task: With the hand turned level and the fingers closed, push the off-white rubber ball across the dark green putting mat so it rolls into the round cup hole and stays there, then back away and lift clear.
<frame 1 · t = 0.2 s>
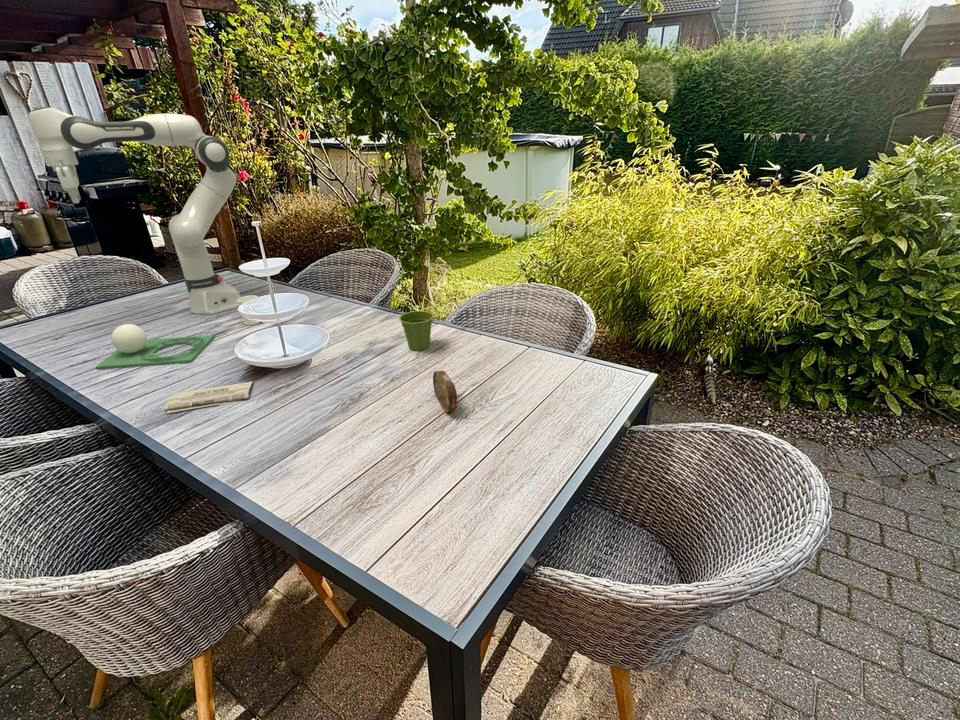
hand: (77, 201, 173), 48 cm above the table, tool pointing down, fingers open, 8 cm apart
putting mat: (174, 351, 170), on the table
newspaper: (213, 400, 141), on the table
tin: (445, 404, 135), on the table
ball: (129, 338, 166), point 6 cm above the table, touching putting mat
plant pot: (419, 347, 169), on the table
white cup: (253, 322, 194), on the table
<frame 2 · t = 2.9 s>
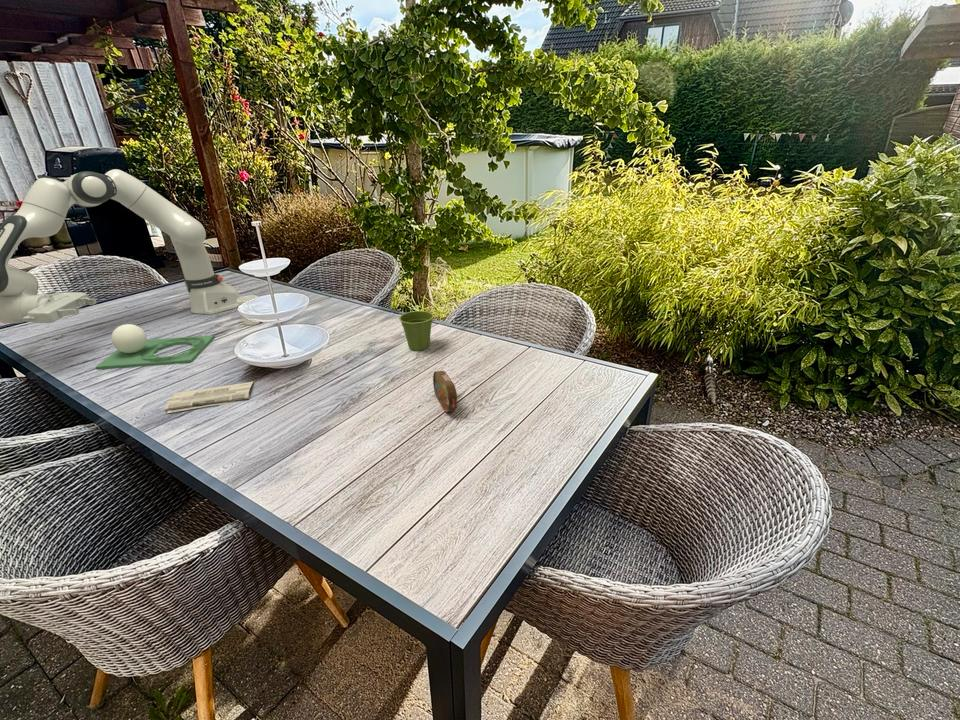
hand: (86, 306, 160), 18 cm above the table, tool horizontal, fingers open, 8 cm apart
nothing on the table moved.
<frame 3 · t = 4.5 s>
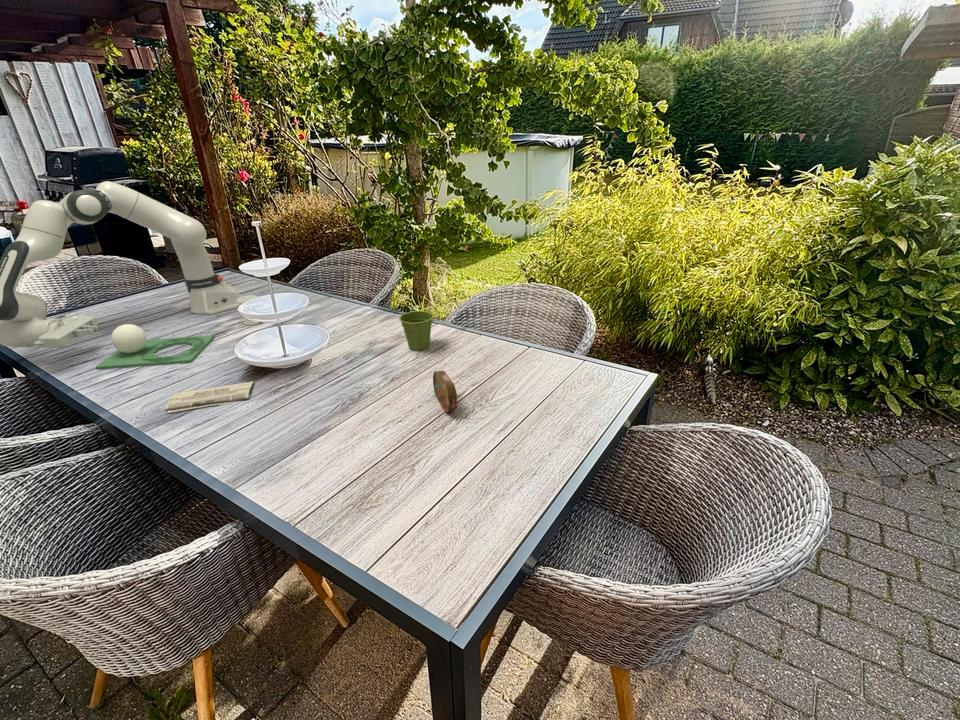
hand: (95, 330, 164), 10 cm above the table, tool horizontal, fingers closed
nothing on the table moved.
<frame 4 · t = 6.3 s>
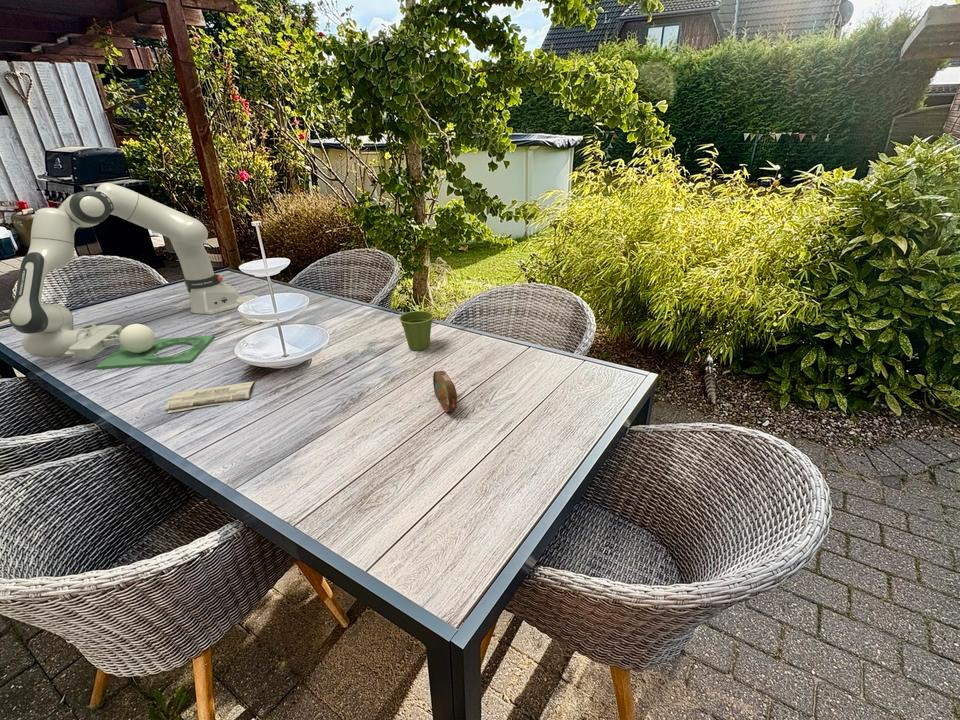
hand: (122, 339, 166), 6 cm above the table, tool horizontal, fingers closed
ball: (137, 338, 167), point 6 cm above the table, tilted 31°, touching putting mat
everything else where it was.
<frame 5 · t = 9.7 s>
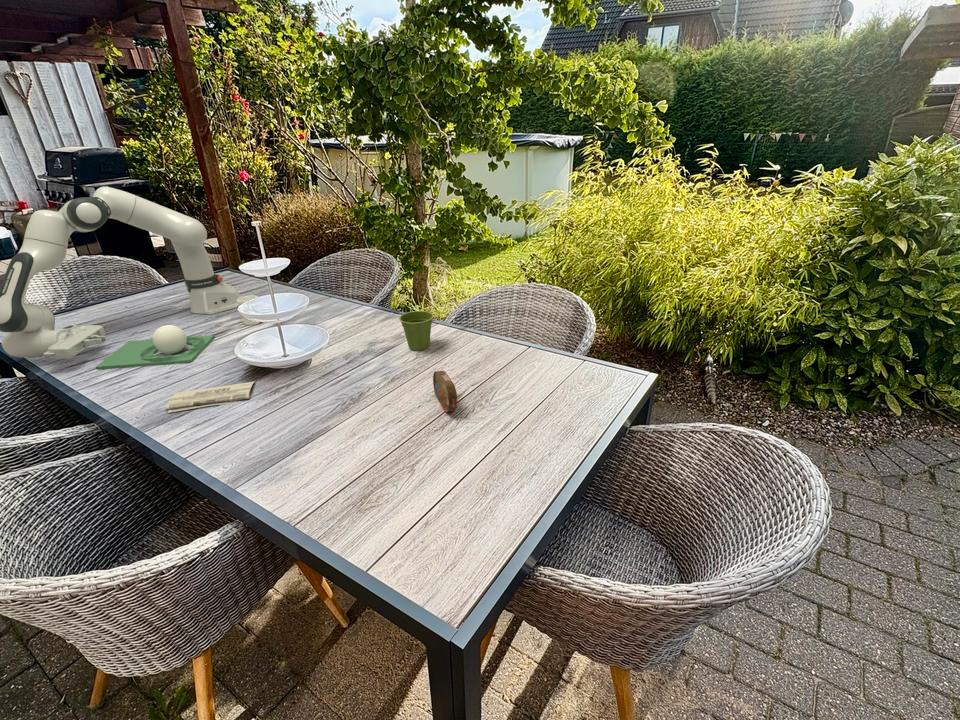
hand: (103, 339, 165), 6 cm above the table, tool horizontal, fingers closed
ball: (169, 339, 167), point 5 cm above the table, tilted 154°
everything else where it was.
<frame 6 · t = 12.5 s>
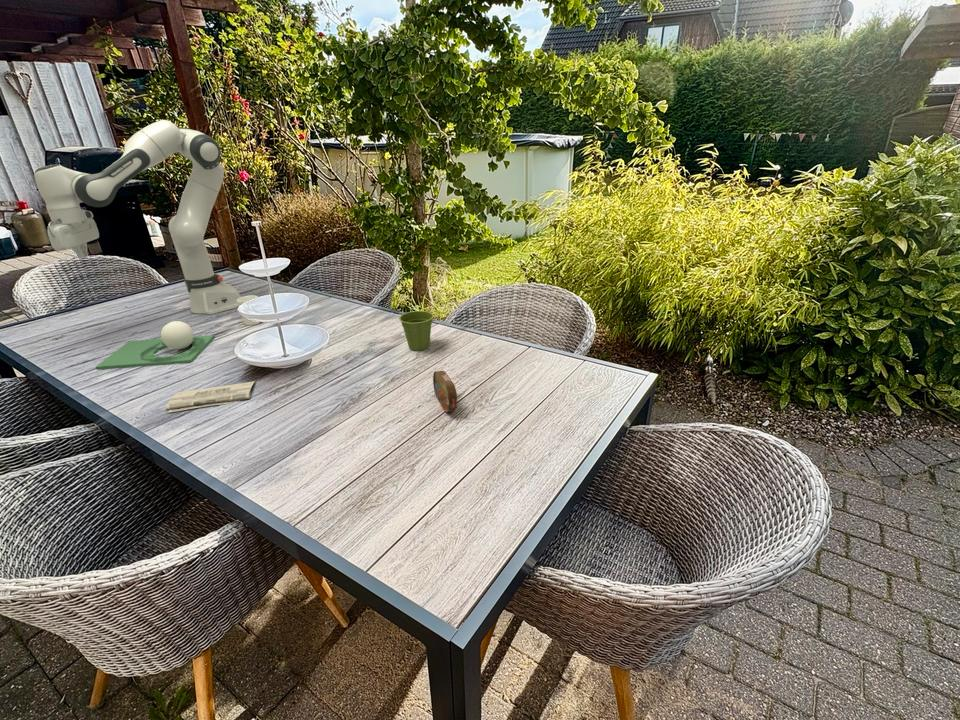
hand: (83, 257, 169), 31 cm above the table, tool pointing down, fingers closed
ball: (177, 335, 171), point 5 cm above the table, tilted 140°
everything else where it was.
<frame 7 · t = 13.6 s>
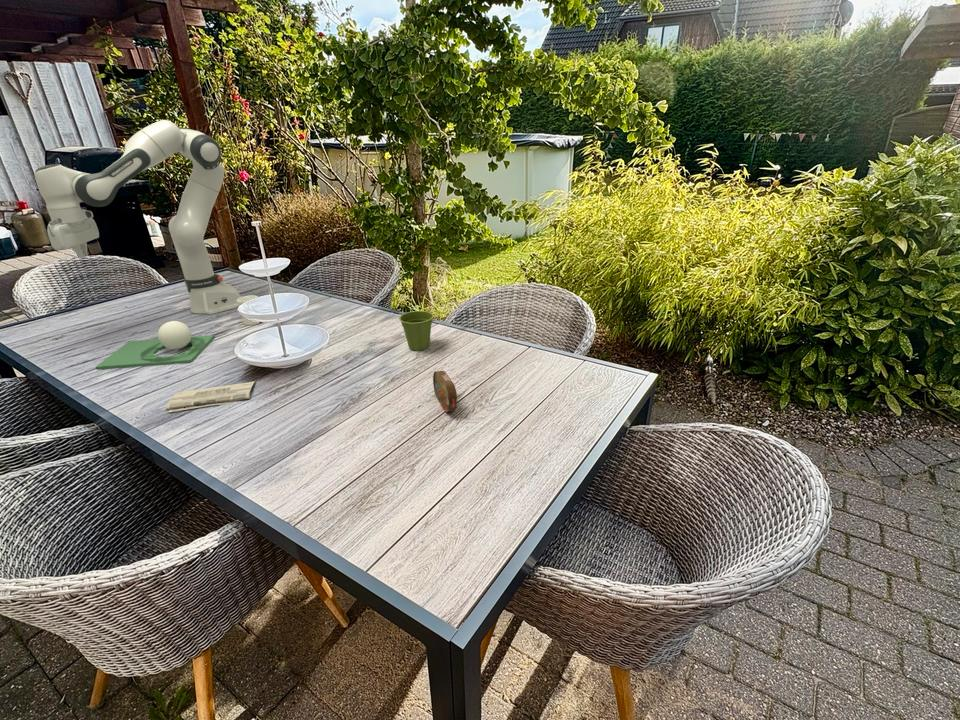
hand: (83, 257, 169), 31 cm above the table, tool pointing down, fingers closed
ball: (174, 335, 171), point 5 cm above the table, tilted 132°
everything else where it was.
at the end: ball 3.0 cm off-centre on the putting mat, point 5.0 cm above the putting mat's base; ball moved 13.6 cm from its start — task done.
